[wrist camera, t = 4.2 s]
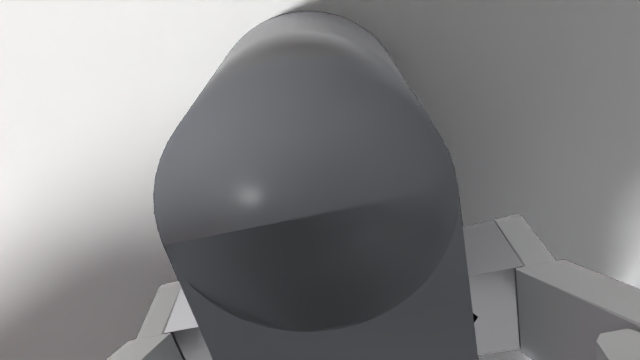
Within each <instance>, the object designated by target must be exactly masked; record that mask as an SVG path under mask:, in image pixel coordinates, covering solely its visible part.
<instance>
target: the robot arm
mask: <svg viewBox="0 0 640 360" xmlns="http://www.w3.org/2000/svg"><path fill="white" fill-rule="evenodd" d="M463 234H464V242H465V250H466V259H467V267H468V276H469V284H470V293H471V301H472V310H473V318H474V326H475V335H476V343H477V352H478V356H479V355H486V354H493V353H499V352H506V351H513V350H520V349H521V352H522V353H524V354H525V355H527V356H528V357H529V358H531V359H532V360H640V289H638V288H636V287H633V286H631V285H628V284H625V283H623V282H620V281H618V280H615V279H613V278H610V277H607V276H605V275H602V274H600V273H597V272H595V271H592V270H589V269H587V268H584V267H582V266H579V265H577V264H574V263H571V262H569V261H566V260H564V259H563V260H557V261H555V259H554V258H553V257H552V255H551V254H550V253H549V251H548V250H547V249H546V247H545V246H544V245H543V243H542V242H541V241H540V239H539V238H538V237H537V235H536V234H535V233H534V232H533V230H532V229H531V228H530V226H529V225H528V224H527V222H526V221H525V220H524V218H523V217H522V216H521V215H519V214H515V215H511V216H507V217H502V218H498V219H494V220H491V221H486V222H482V223H477V224H473V225H468V226H463ZM106 360H213V359H212V357H211V354H210V352H209V350H208V347H207V345H206V343H205V340H204V338H203V336H202V334H201V331H200V329H199V327H198V324H197V322H196V320H195V317H194V315H193V313H192V311H191V308H190V306H189V304H188V301H187V299H186V297H185V294H184V292H183V290H182V287H181V285H180V283H179V281H175V282H170V283H165V284H163V285H161V286H160V287H159V288H158V291H157V293H156V295H155V297H154V300H153V302H152V304H151V306H150V309H149V311H148V313H147V315H146V318H145V320H144V322H143V324H142V327H141V329H140V331H139V334H138V336H137V338H136V339H135V340H130V341H128V342H126V343H125V344H124V345H123V346H122V347H121V348H119V349H118V350H117V351H116V352H115V353H113V354H112V355H111V356H110V357H109V358H107V359H106Z"/></svg>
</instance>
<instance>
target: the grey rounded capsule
mask: <svg viewBox="0 0 640 360" xmlns="http://www.w3.org/2000/svg"><path fill="white" fill-rule="evenodd" d="M153 196H154V214H155V219H156V224H157V229H158V232H159V235H160V238H161V240H162V243H163V246H164V248H165V251H166V253H167V255H168V258H169V260H170V262H171V264H172V267H173V269H174V271H175V274H176V276H177V278H178V281H179V283H180V285H181V287H182V290H183V292H184V294H185V297H186V299H187V301H188V304H189V306H190V308H191V311H192V313H193V315H194V317H195V320H196V322H197V324H198V327H199V329H200V331H201V334H202V336H203V338H204V340H205V343H206V345H207V347H208V350H209V352H210V354H211V357H212V359H213V360H478V352H477V343H476V335H475V326H474V318H473V310H472V301H471V293H470V284H469V276H468V267H467V259H466V250H465V242H464V234H463V225H462V217H461V208H460V200H459V191H458V184H457V179H456V174H455V169H454V166H453V163H452V160H451V157H450V155H449V152H448V150H447V148H446V146H445V144H444V142H443V140H442V139H441V137H440V135H439V133H438V132H437V130H436V128H435V127H434V125H433V124H432V122H431V120H430V119H429V117H428V116H427V114H426V112H425V111H424V109H423V108H422V106H421V105H420V103H419V101H418V100H417V98H416V97H415V95H414V93H413V92H412V90H411V89H410V87H409V85H408V84H407V82H406V81H405V79H404V77H403V76H402V74H401V73H400V71H399V70H398V68H397V66H396V65H395V63H394V62H393V60H392V58H391V57H390V55H389V54H388V52H387V51H386V50H385V48H384V47H383V46H382V44H381V43H380V42H379V41H378V40H377V39H376V38H375V37H374V36H373V35H372V34H370V33H369V32H368V31H366V30H365V29H364V28H362V27H361V26H359V25H357V24H355V23H354V22H352V21H350V20H348V19H345V18H343V17H340V16H337V15H333V14H329V13H324V12H315V11H301V12H293V13H287V14H283V15H280V16H277V17H274V18H271V19H269V20H267V21H265V22H263V23H261V24H259V25H258V26H256V27H255V28H253V29H252V30H250V31H249V32H248V33H247V34H245V35H244V36H243V37H242V38H241V39H240V40H239V41H238V42H237V43H236V44H235V46H234V47H233V48H232V49H231V51H230V52H229V54H228V55H227V56H226V58H225V59H224V61H223V62H222V64H221V65H220V66H219V68H218V69H217V71H216V72H215V74H214V75H213V76H212V78H211V79H210V81H209V82H208V84H207V85H206V86H205V88H204V89H203V91H202V92H201V94H200V95H199V96H198V98H197V99H196V101H195V102H194V104H193V105H192V106H191V108H190V109H189V111H188V112H187V114H186V115H185V116H184V118H183V119H182V121H181V122H180V124H179V125H178V126H177V128H176V130H175V131H174V133H173V134H172V136H171V137H170V139H169V141H168V142H167V145H166V147H165V149H164V151H163V154H162V156H161V158H160V161H159V165H158V169H157V173H156V176H155V185H154V194H153Z"/></svg>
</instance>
